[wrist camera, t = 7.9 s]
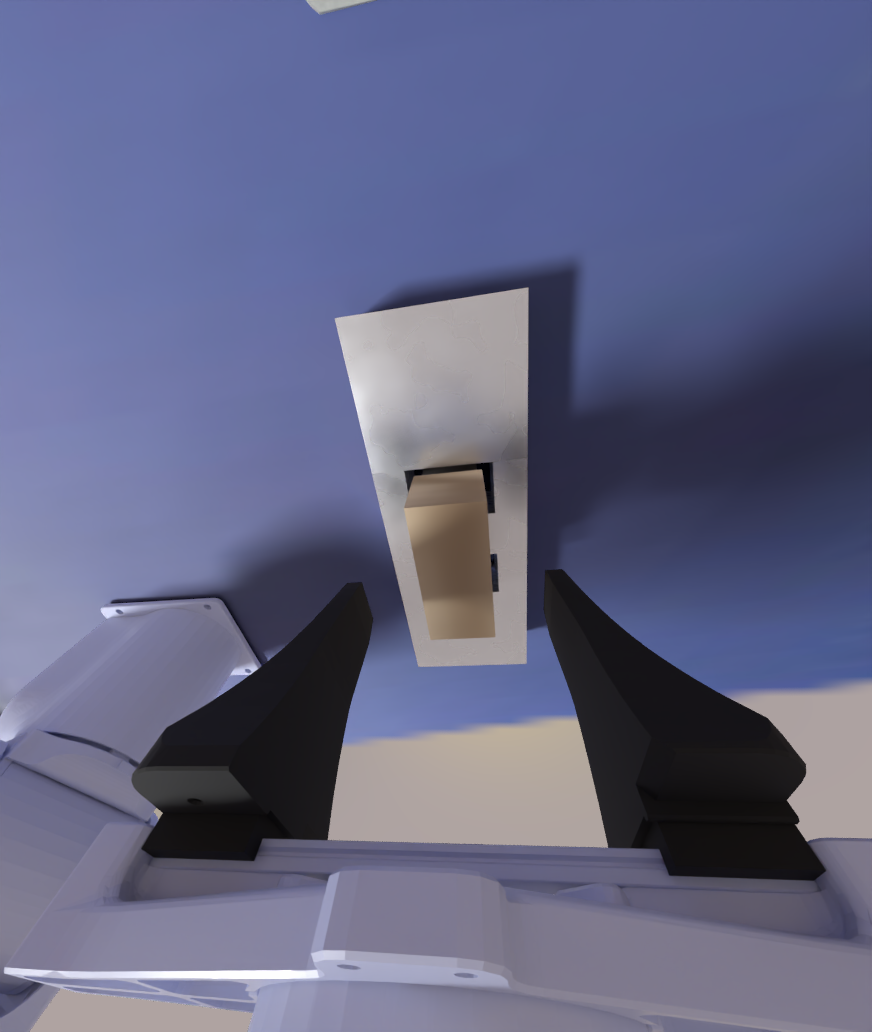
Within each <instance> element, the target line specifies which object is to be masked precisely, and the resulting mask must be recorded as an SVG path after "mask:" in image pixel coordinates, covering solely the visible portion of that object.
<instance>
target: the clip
mask: <svg viewBox="0 0 872 1032" xmlns="http://www.w3.org/2000/svg"><path fill="white" fill-rule="evenodd" d="M404 512H405V516H406V521H407V526H408V531H409V536H410V541H411V546H412V551H413V556H414V561H415V566H416V571H417V576H418V581H419V586H420V591H421V596H422V601H423V606H424V610H425V615H426V620H427V625H428V630H429V635H430V640H441V639H466V638H491V637H495V621H494V605H493V589H492V573H491V557H490V541H489V525H488V509H487V498H486V492H485V485H484V479H483V473H482V469H481V470H477V467H476V464H466V465H456V466H446V467H436V468H426V469H423V473H422V475H420V476H414V477H413V480H412V483H411V487H410V490H409V493H408V496H407V500H406V503H405V506H404Z"/></svg>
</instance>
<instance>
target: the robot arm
mask: <svg viewBox="0 0 872 1032" xmlns="http://www.w3.org/2000/svg"><path fill="white" fill-rule="evenodd" d="M101 612H102V613H103V615H104V616H105V617H106V618H107V619H106V620H105V621H103V622H102V623H101V624H100V625H99V626H97V627H96V628H95V629H94V630H92V631H91V632H90V633H89V634H88V635H86V636H85V637H84V638H83V639H82V640H80V641H79V642H78V643H77V644H75V645H74V646H73V647H72V648H71V649H69V650H68V651H67V652H66V653H65V654H63V655H62V656H61V657H60V658H58V659H57V660H56V661H55V662H54V663H52V664H51V665H50V666H49V667H48V668H46V669H45V670H44V671H43V672H41V673H40V674H39V675H38V676H37V677H35V678H34V679H33V680H32V681H31V682H29V683H28V684H27V685H26V686H25V687H23V688H22V689H21V690H20V691H19V692H18V693H17V694H16V695H15V696H14V698H13V699H12V700H11V701H10V702H9V704H8V705H7V707H6V708H5V710H4V711H3V713H2V715H1V717H0V1032H30V1030H31V1029H32V1027H33V1026H34V1024H35V1023H36V1021H37V1020H38V1019H39V1017H40V1016H41V1014H42V1013H43V1012H44V1010H45V1009H46V1007H47V1006H48V1005H49V1003H50V1002H51V1001H52V999H53V998H54V997H55V995H56V994H57V993H58V991H59V990H60V989H61V988H62V989H66V990H70V991H73V992H78V993H87V994H97V995H107V996H117V997H126V998H136V999H145V1000H153V1001H161V1002H170V1003H178V1004H186V1005H194V1006H202V1007H209V1008H217V1009H226V1010H234V1011H241V1012H249V1013H253V1015H252V1018H251V1022H250V1025H249V1028H248V1032H872V839H862V838H818V839H814V840H810V841H808V842H807V841H805V839H804V837H803V836H802V834H801V833H800V831H799V830H798V828H797V827H796V825H795V824H798V823H799V818H798V816H797V814H796V813H795V812H794V810H793V809H792V807H791V806H790V804H789V803H788V802H787V799H788V798H789V797H790V796H791V794H792V793H793V792H794V791H795V790H796V788H797V787H798V786H799V785H800V784H801V783H802V781H803V779H804V777H805V775H806V764H805V763H804V761H803V760H802V759H801V758H800V756H799V755H798V754H797V753H796V751H795V750H794V749H793V748H792V746H791V745H790V744H789V742H788V741H787V740H786V739H785V737H784V736H783V735H782V734H781V733H780V732H779V731H778V729H777V728H776V727H775V726H774V725H773V724H772V723H771V722H770V720H769V719H768V718H766V717H764V716H762V715H760V714H758V713H756V712H755V711H752V710H751V709H749V708H747V707H745V706H743V705H741V704H739V703H737V702H735V701H733V700H731V699H729V698H727V697H725V696H724V695H722V694H720V693H718V692H716V691H715V690H713V689H711V688H709V687H708V686H706V685H704V684H703V683H701V682H699V681H697V680H696V679H694V678H692V677H691V676H689V675H687V674H686V673H684V672H682V671H681V670H679V669H678V668H676V667H675V666H673V665H672V664H670V663H669V662H667V661H666V660H664V659H663V658H661V657H660V656H658V655H657V654H655V653H654V652H652V651H651V650H650V649H648V648H647V647H645V646H644V645H643V644H641V643H640V642H639V641H638V640H636V639H635V638H634V637H632V636H631V635H630V634H629V633H627V632H626V631H625V630H624V629H623V628H621V627H620V626H619V625H618V624H617V623H616V622H615V621H613V620H612V619H611V618H610V617H609V616H608V615H607V614H606V613H604V612H603V611H602V610H601V609H600V608H599V607H598V606H597V605H596V604H595V603H594V602H593V601H592V600H591V599H590V598H589V597H588V596H587V595H586V594H585V593H584V592H583V591H582V590H581V589H580V588H579V587H578V586H577V585H576V583H575V582H574V581H573V580H572V579H571V578H570V577H569V576H568V575H567V574H566V572H565V571H563V570H562V569H558V570H545V590H544V613H545V618H546V622H547V626H548V630H549V635H550V638H551V640H552V643H553V646H554V649H555V652H556V654H557V657H558V660H559V663H560V665H561V668H562V671H563V673H564V676H565V679H566V682H567V684H568V687H569V690H570V693H571V696H572V699H573V702H574V705H575V709H576V713H577V717H578V721H579V724H580V728H581V732H582V736H583V740H584V744H585V748H586V752H587V756H588V760H589V764H590V768H591V772H592V777H593V781H594V785H595V789H596V794H597V798H598V802H599V807H600V811H601V815H602V820H603V825H604V829H605V834H606V838H607V843H608V848H597V847H560V846H522V845H483V844H448V843H445V844H444V843H410V842H373V841H372V842H371V841H332V840H328V832H329V825H330V818H331V810H332V803H333V795H334V790H335V784H336V777H337V771H338V765H339V759H340V754H341V748H342V743H343V738H344V732H345V728H346V723H347V718H348V713H349V708H350V705H351V701H352V697H353V694H354V691H355V687H356V684H357V681H358V678H359V674H360V671H361V668H362V665H363V661H364V658H365V655H366V651H367V648H368V645H369V640H370V635H371V629H372V623H373V617H372V614H371V610H370V607H369V604H368V601H367V597H366V594H365V591H364V588H363V584H362V582H357V583H347V584H346V585H345V586H344V587H343V588H342V589H341V590H340V592H339V593H338V594H337V595H336V596H335V597H334V598H333V599H332V600H331V601H330V603H329V604H328V605H327V606H326V607H325V608H324V609H323V610H322V611H321V612H320V613H319V614H318V615H317V616H316V618H315V619H314V620H313V621H312V622H311V623H310V624H309V625H308V626H307V627H306V628H305V629H304V630H303V631H301V632H300V633H299V634H298V635H297V636H296V637H295V638H294V639H293V640H292V641H291V642H290V643H289V644H288V645H287V646H286V647H284V648H283V649H282V650H281V651H280V652H279V653H277V654H276V655H275V656H274V657H273V658H271V659H270V660H269V661H268V662H267V663H265V664H264V665H263V666H261V664H260V663H259V661H258V659H257V658H256V656H255V654H254V653H253V651H252V649H251V648H250V646H249V644H248V643H247V641H246V639H245V638H244V636H243V634H242V633H241V631H240V629H239V628H238V626H237V624H236V623H235V621H234V619H233V618H232V616H231V614H230V613H229V611H228V609H227V608H226V606H225V604H224V603H223V601H222V600H220V599H218V598H203V599H185V600H168V601H151V602H134V603H117V604H106V605H104V606H103V607H102V608H101ZM230 675H249V676H248V677H247V678H245V679H244V680H243V681H241V682H240V683H238V684H237V685H235V686H234V687H232V688H231V689H230V690H228V691H227V692H225V693H224V694H222V695H220V696H219V697H217V698H216V699H215V697H216V696H217V694H218V693H219V691H220V690H221V688H222V687H223V685H224V684H225V682H226V681H227V679H228V677H229V676H230ZM156 808H158V809H159V810H160V811H161V812H163V814H162V815H161V817H160V819H159V820H158V817H157V816H156V814H155V813H154V810H155V809H156ZM553 894H554V895H553Z"/></svg>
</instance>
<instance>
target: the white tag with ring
mask: <svg viewBox="0 0 872 1032" xmlns="http://www.w3.org/2000/svg"><path fill="white" fill-rule="evenodd" d="M306 1H307V2H308V4H309V5H310V6H311V7H312V8H313V9H314V10H315V11H316V12H318V13H319V14H320V15H321V14H325V13H329V12H333V11H337V10H341V9H345V8H349V7H353V6H357V5H360V4H364V3H368V2H372V1H376V0H306Z"/></svg>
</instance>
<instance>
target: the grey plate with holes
mask: <svg viewBox="0 0 872 1032" xmlns="http://www.w3.org/2000/svg"><path fill="white" fill-rule="evenodd" d="M335 322H336V326H337V330H338V334H339V338H340V342H341V346H342V351H343V355H344V359H345V363H346V367H347V371H348V376H349V380H350V384H351V388H352V392H353V396H354V401H355V405H356V409H357V413H358V417H359V421H360V426H361V430H362V434H363V438H364V442H365V446H366V450H367V455H368V459H369V463H370V467H371V471H372V475H373V480H374V484H375V488H376V492H377V496H378V500H379V505H380V509H381V513H382V517H383V521H384V525H385V529H386V534H387V538H388V542H389V546H390V550H391V554H392V559H393V563H394V567H395V571H396V575H397V579H398V584H399V588H400V592H401V596H402V600H403V604H404V608H405V613H406V617H407V621H408V625H409V629H410V633H411V638H412V642H413V646H414V650H415V654H416V658H417V663H418V667H432V666H466V665H500V664H526V644H527V459H528V288H522V289H515V290H509V291H503V292H497V293H490V294H484V295H478V296H472V297H465V298H459V299H453V300H447V301H440V302H434V303H428V304H422V305H415V306H409V307H403V308H397V309H390V310H384V311H378V312H372V313H365V314H359V315H353V316H346V317H340V318H335ZM486 462H489V465H490V483H491V491H485V492H486V498H487V509H488V525H489V541H490V554H494V558H495V564H491V573H492V589H493V605H494V621H495V637H491V638H466V639H441V640H430V635H429V630H428V625H427V620H426V615H425V610H424V606H423V601H422V596H421V591H420V586H419V581H418V576H417V571H416V566H415V561H414V556H413V551H412V546H411V541H410V536H409V531H408V526H407V521H406V516H405V512H404V506H405V503H406V500H407V496H408V493H409V490H410V487H411V483H412V480H413V477H414V476H415V473H414V470H416V469H426V468H436V467H446V466H456V465H466V464H476V463H486Z"/></svg>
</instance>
